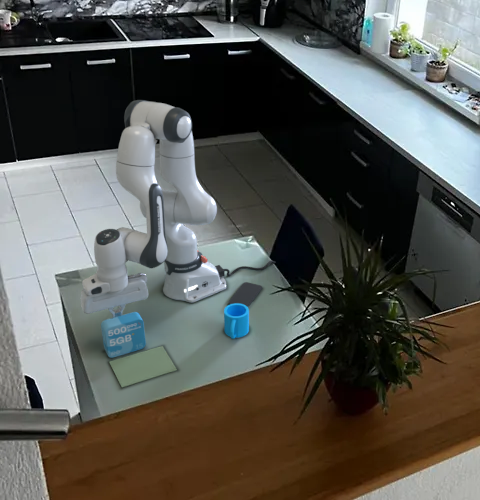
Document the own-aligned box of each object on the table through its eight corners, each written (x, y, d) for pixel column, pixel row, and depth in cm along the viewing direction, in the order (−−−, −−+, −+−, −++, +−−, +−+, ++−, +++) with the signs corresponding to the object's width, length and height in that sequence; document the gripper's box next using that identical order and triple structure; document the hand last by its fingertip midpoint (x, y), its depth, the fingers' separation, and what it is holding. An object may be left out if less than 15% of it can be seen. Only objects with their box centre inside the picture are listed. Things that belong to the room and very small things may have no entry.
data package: (108, 359, 217) (104, 328, 210) (104, 351, 220) (100, 320, 214) (146, 348, 222) (143, 318, 216) (141, 340, 226) (138, 310, 219)
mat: (162, 346, 224) (162, 345, 224) (176, 370, 215) (176, 369, 215) (109, 362, 215) (109, 361, 215) (121, 387, 206) (121, 387, 206)
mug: (227, 321, 237) (226, 302, 233) (250, 323, 237) (250, 304, 233) (219, 343, 227) (219, 323, 223) (244, 346, 227) (244, 326, 223)
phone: (263, 285, 256) (246, 307, 243) (263, 287, 256) (246, 309, 244) (244, 281, 257) (227, 303, 245) (244, 283, 258) (227, 305, 245)
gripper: (143, 266, 221) (146, 302, 228) (76, 282, 211) (82, 318, 218) (149, 276, 217) (152, 312, 224) (81, 292, 207) (87, 329, 214)
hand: (117, 315), depth 221 cm, fingers closed
